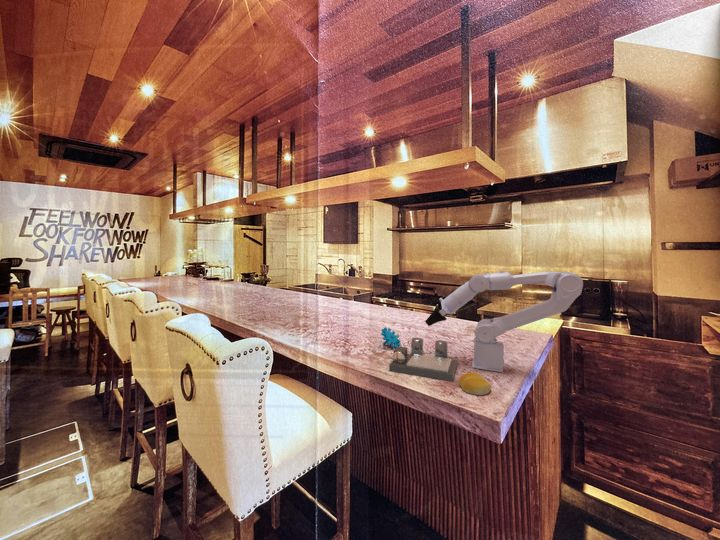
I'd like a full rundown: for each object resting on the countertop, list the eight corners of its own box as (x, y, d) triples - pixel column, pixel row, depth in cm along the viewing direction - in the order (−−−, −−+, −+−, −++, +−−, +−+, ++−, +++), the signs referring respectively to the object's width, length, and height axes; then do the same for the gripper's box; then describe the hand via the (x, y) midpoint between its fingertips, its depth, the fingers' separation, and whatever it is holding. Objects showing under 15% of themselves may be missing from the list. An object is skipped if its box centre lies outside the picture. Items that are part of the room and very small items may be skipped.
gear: (391, 347, 114) (379, 326, 119) (382, 355, 117) (370, 335, 122) (406, 345, 122) (394, 325, 128) (397, 353, 125) (386, 333, 130)
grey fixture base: (456, 366, 99) (456, 350, 99) (452, 381, 87) (453, 363, 87) (399, 358, 107) (399, 343, 107) (388, 370, 95) (388, 353, 95)
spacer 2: (447, 357, 109) (448, 341, 109) (446, 360, 105) (446, 344, 105) (435, 355, 111) (436, 339, 110) (434, 359, 107) (434, 343, 106)
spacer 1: (423, 353, 112) (424, 338, 112) (421, 357, 108) (421, 341, 108) (412, 352, 114) (412, 337, 114) (410, 355, 110) (410, 340, 110)
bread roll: (465, 396, 79) (466, 382, 79) (455, 382, 88) (456, 369, 88) (496, 397, 79) (496, 382, 78) (483, 382, 87) (483, 369, 87)
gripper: (452, 287, 111) (425, 308, 116) (447, 293, 97) (417, 317, 102) (465, 301, 109) (437, 322, 114) (461, 310, 96) (430, 333, 101)
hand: (429, 321), depth 108 cm, fingers open, 7 cm apart
